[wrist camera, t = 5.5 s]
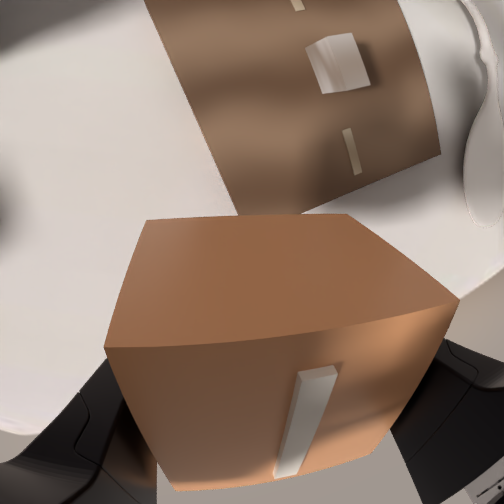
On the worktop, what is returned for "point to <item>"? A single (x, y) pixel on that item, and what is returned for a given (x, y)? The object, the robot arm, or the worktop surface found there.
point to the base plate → (300, 95)
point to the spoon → (485, 141)
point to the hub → (269, 343)
